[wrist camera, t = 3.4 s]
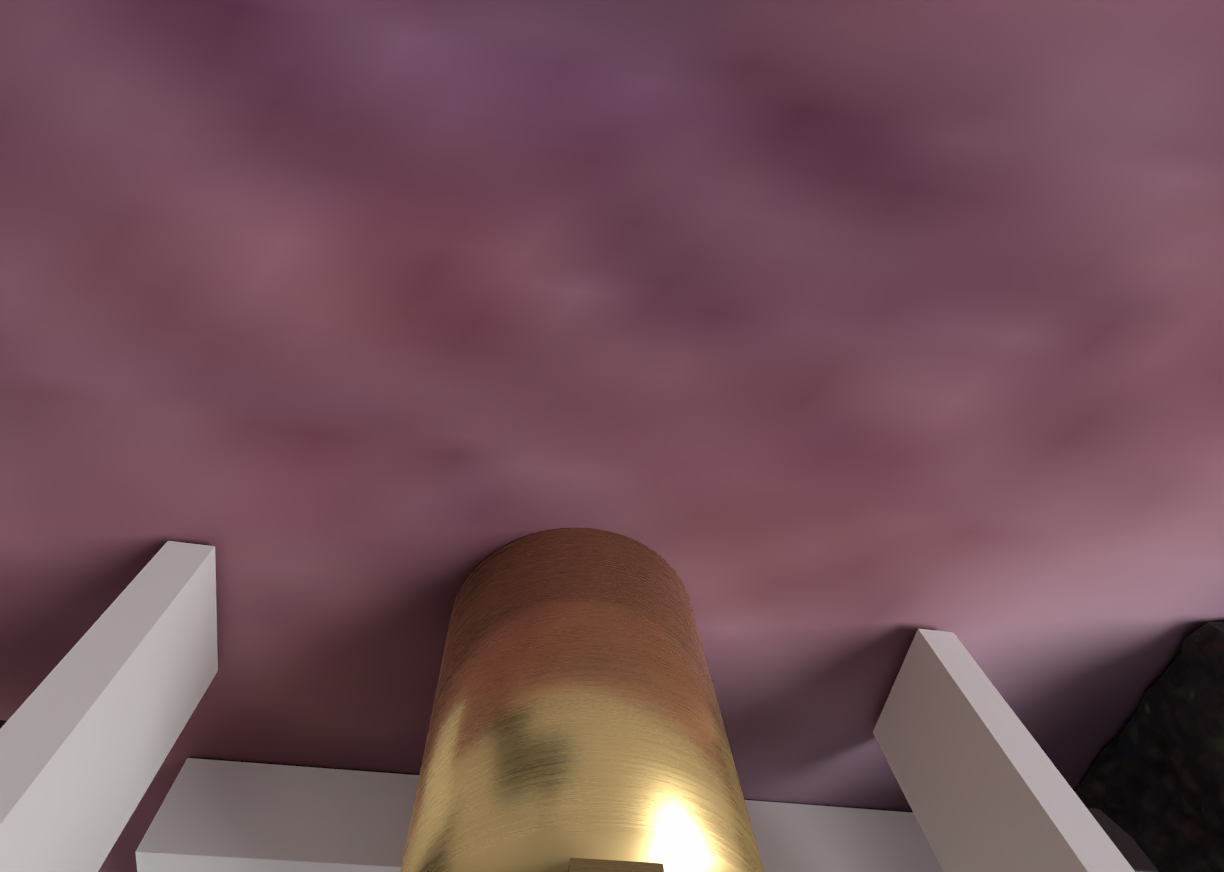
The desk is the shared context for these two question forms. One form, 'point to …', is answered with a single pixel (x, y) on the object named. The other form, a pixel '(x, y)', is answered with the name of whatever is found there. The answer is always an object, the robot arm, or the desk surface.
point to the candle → (1171, 763)
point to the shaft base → (381, 812)
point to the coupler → (576, 722)
